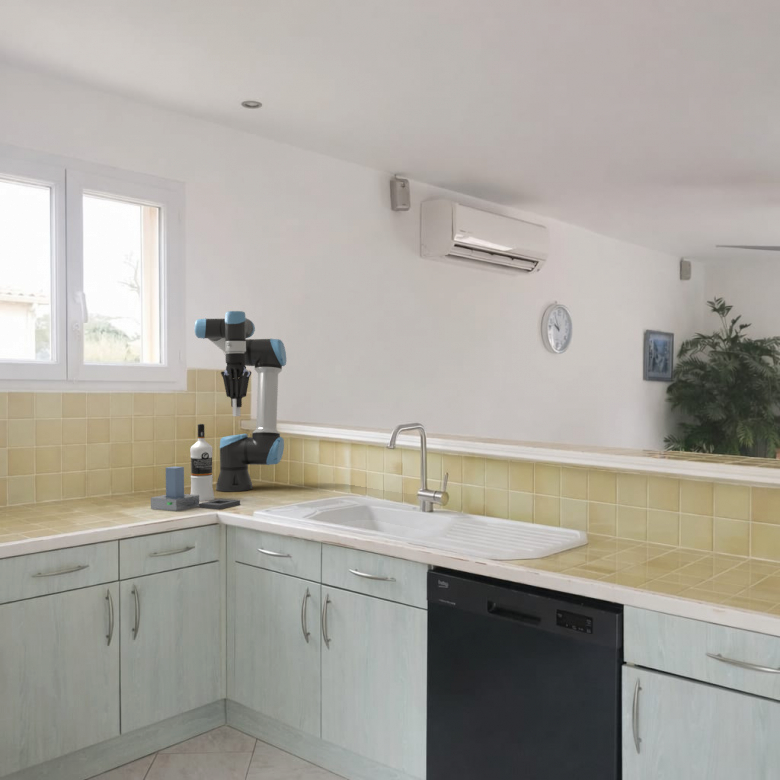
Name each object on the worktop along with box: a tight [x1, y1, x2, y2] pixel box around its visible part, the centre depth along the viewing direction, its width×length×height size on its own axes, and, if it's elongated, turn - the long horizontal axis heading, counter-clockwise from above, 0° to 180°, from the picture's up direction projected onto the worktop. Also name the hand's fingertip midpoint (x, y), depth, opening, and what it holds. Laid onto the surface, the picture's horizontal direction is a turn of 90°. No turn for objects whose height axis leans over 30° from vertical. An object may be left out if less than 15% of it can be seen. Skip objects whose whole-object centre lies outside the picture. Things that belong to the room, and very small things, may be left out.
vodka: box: [189, 423, 215, 502], centre depth 309 cm, size 9×9×30 cm
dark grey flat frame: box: [198, 498, 241, 511], centre depth 293 cm, size 12×9×2 cm
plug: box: [165, 465, 185, 498], centre depth 291 cm, size 4×4×14 cm
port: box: [150, 493, 200, 512], centre depth 291 cm, size 13×12×5 cm
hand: (236, 416), depth 300 cm, fingers closed
